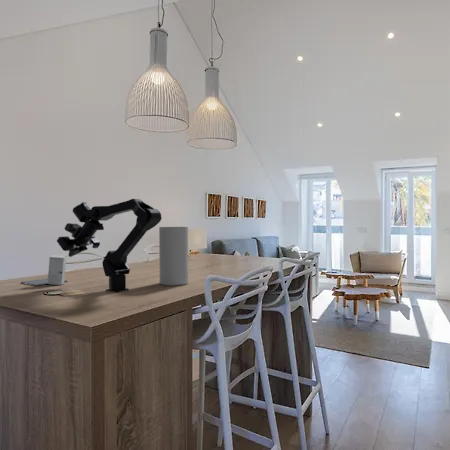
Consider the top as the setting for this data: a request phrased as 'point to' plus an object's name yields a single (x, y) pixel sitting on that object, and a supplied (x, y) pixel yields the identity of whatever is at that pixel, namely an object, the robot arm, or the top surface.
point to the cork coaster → (72, 293)
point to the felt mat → (38, 282)
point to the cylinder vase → (173, 255)
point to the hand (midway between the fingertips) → (69, 256)
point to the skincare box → (56, 270)
